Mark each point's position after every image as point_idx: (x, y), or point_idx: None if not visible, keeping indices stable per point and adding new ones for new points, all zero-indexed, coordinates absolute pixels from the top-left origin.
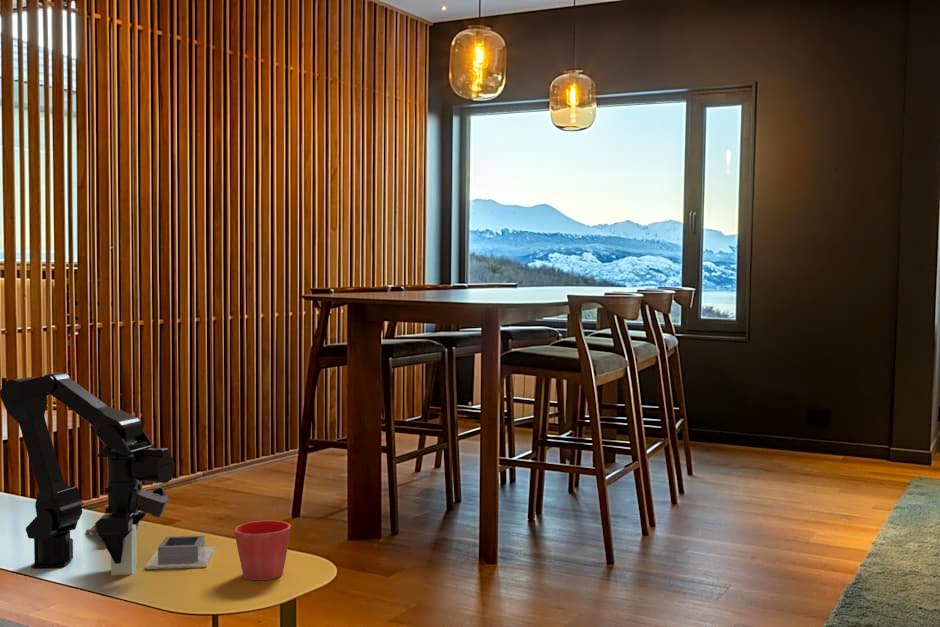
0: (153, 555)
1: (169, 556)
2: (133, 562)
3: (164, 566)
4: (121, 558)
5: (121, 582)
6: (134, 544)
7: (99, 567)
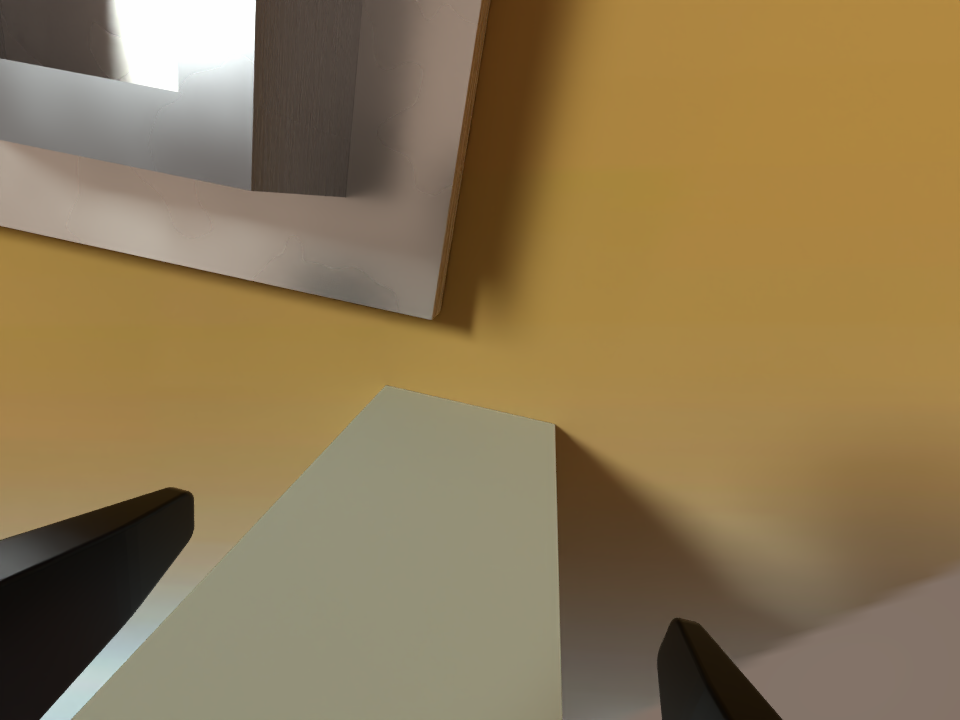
0: (127, 249)
1: (331, 40)
2: (487, 454)
3: (466, 123)
4: (722, 664)
5: (753, 506)
6: (377, 572)
7: None
